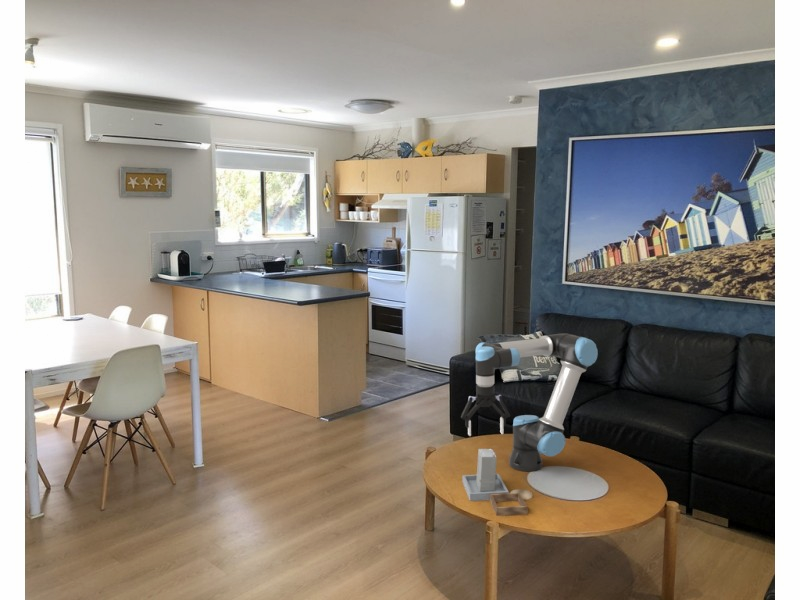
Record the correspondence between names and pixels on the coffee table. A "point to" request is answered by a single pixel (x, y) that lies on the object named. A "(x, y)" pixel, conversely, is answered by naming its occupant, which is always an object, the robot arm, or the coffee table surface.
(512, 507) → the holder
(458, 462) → the coffee table surface
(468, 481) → the tray
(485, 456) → the skincare box
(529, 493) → the curved potato chip
